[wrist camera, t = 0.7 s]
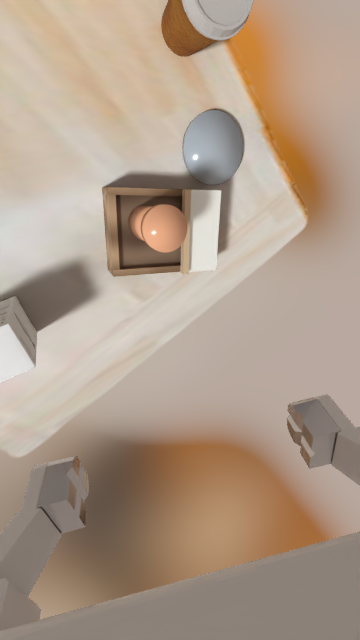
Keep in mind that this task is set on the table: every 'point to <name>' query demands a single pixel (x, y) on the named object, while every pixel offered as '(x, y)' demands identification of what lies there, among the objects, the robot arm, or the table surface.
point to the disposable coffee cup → (202, 23)
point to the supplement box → (15, 340)
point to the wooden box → (122, 245)
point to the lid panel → (200, 230)
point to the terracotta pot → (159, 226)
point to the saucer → (212, 147)
